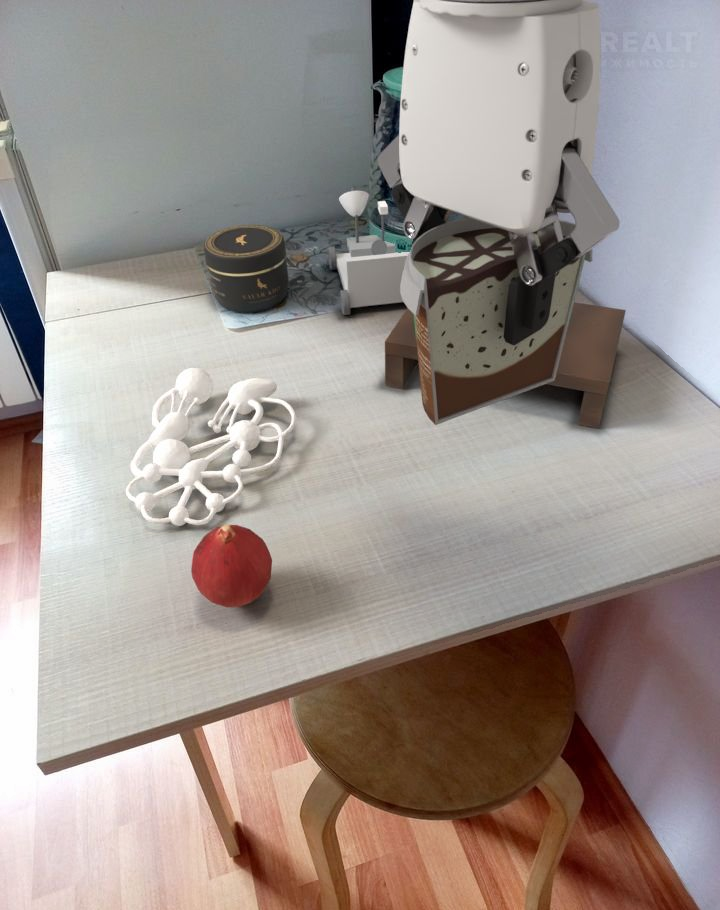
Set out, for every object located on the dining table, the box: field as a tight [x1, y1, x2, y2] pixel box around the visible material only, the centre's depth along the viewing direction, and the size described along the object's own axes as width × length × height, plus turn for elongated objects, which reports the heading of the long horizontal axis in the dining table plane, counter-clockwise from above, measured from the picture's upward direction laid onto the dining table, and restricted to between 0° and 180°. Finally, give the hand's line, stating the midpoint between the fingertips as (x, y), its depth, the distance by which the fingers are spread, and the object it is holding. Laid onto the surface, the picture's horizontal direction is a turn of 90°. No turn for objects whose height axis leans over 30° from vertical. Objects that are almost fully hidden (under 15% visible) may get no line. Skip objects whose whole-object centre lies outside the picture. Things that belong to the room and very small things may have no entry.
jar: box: [203, 224, 289, 314], centre depth 88 cm, size 10×10×8 cm
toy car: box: [327, 186, 410, 316], centre depth 90 cm, size 18×10×12 cm
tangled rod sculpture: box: [125, 367, 297, 527], centre depth 66 cm, size 19×14×4 cm
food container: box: [400, 217, 593, 426], centre depth 44 cm, size 12×6×10 cm, turn 118°
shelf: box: [384, 301, 626, 429], centre depth 75 cm, size 22×14×6 cm, turn 68°
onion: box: [190, 524, 273, 608], centre depth 52 cm, size 6×6×8 cm
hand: (475, 311), depth 44 cm, fingers closed on food container, 6 cm apart
